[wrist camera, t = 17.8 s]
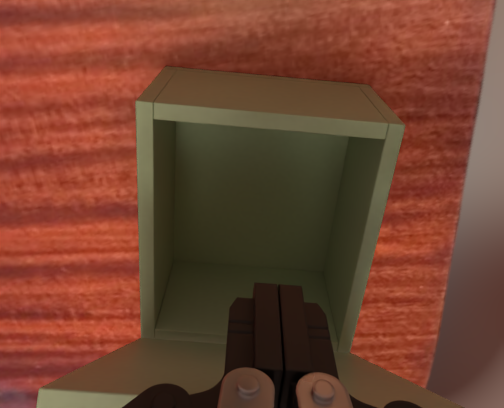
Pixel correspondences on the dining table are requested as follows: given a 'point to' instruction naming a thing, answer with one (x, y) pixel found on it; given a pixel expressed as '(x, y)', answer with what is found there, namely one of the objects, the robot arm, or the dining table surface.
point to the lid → (205, 377)
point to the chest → (257, 196)
